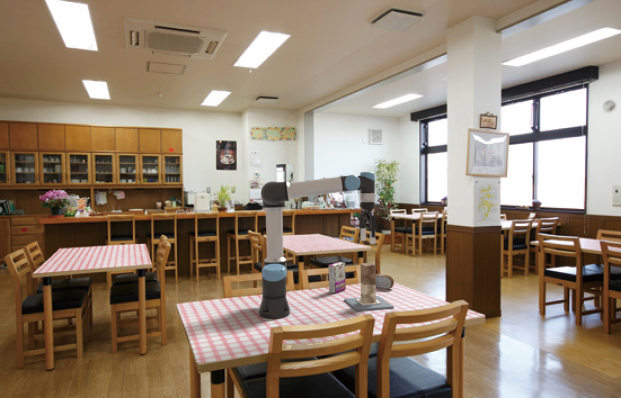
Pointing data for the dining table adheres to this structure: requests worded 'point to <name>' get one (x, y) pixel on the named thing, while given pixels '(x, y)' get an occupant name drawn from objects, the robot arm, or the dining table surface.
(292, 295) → the dining table surface
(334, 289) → the candy bar box
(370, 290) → the birch block
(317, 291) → the dining table surface
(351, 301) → the baseboard
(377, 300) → the square frame
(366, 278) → the walnut block
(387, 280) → the tin
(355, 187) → the robot arm
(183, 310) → the dining table surface
